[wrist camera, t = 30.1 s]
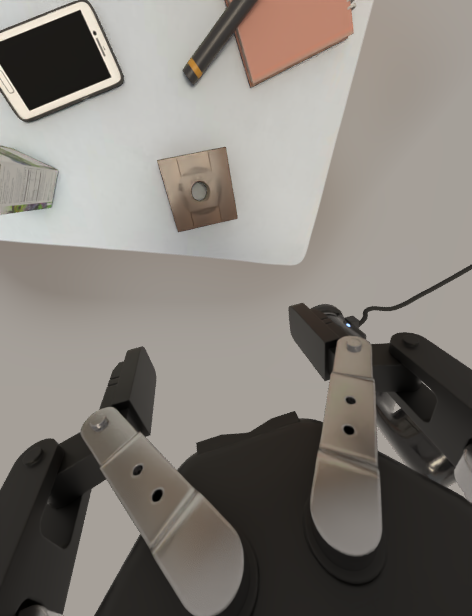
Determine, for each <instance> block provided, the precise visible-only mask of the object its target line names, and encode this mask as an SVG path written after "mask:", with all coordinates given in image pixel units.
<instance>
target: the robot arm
mask: <svg viewBox="0 0 472 616" xmlns="http://www.w3.org/2000/svg"><path fill="white" fill-rule="evenodd" d="M471 269H472V265H470V266H468V267H466V268H465V269H463V270H461V271H459V272H458V273H456V274H454V275H453V276H451V277H449V278H447V279H445V280H443V281H442V282H440V283H438V284H436V285H435V286H433V287H431V288H429V289H427V290H425V291H423V292H421V293H419V294H418V295H416V296H414V297H412V298H410V299H409V300H407V301H405V302H403V303H401V304H399V305H396V306H393V307H377V306H374V307H373V306H372V307H368V308H366V309H365V310H364V311H363V317H362V319H361V320H360V321H359V320H358V319H356V318H355V317H354V316H350V317H346V318H344V317H343V316H342V315H341V314H339V313H336V314H335V313H333V312H330V311H323V312H321V311H318V310H316V309H311V310H310V309H309V308H308V307H307V306H306V305H305V304H303V303H300V304H296V305H293V306H289V321H290V331H291V335H292V337H293V339H294V341H295V342H296V343H297V344H298V346H299V347H300V349H301V350H302V351H303V353H304V354H305V355H306V357H307V358H308V359H309V361H310V362H311V363H312V364H313V366H314V367H315V369H316V370H317V371H318V373H319V374H320V375H321V376H322V378H323V379H324V381H327V380H330V382H329V388H328V395H327V401H326V408H325V414H324V420H323V422H321V421H317V420H313V419H303V418H302V419H299V418H298V416H297V414H296V412H295V411H294V412H290V413H287V414H284V415H281V416H278V417H275V418H272V419H270V420H268V421H267V422H265V423H264V424H262V425H260V426H259V427H257V428H256V429H254V430H253V431H251V432H249V433H240V434H227V435H220V436H217V437H213V438H210V439H207V440H204V441H201V442H198V443H196V444H197V452H196V453H195V454H193V455H192V456H191V457H189V458H188V459H187V460H186V461H185V462H184V463H183V464H182V465H181V466H180V468H178V470H176V469H175V468H174V467H173V466H172V465H171V464H170V463H169V461H168V460H167V459H166V458H165V457H164V456H163V455H162V454H161V453H160V452H159V451H158V450H157V449H156V448H155V447H154V446H153V444H152V443H151V442H150V441H149V440H148V439H147V438H146V436H149V435H150V433H151V423H152V414H153V405H154V395H155V387H156V373H155V369H154V367H153V365H152V363H151V360H150V358H149V356H148V354H147V352H146V350H145V348H144V347H139V348H135V349H131V350H128V351H127V353H126V356H125V360H124V362H120V363H119V364H118V365H117V366H116V367H115V369H114V370H113V372H112V374H111V378H110V380H109V383H108V387H107V389H106V392H105V395H104V398H103V400H102V403H101V406H100V409H99V410H98V411H96V412H95V413H93V414H92V415H91V416H90V417H89V418H88V419H87V420H86V421H85V422H84V424H83V426H82V428H81V432H80V433H78V434H76V435H74V436H73V437H71V438H69V439H67V440H65V441H64V442H62V443H60V444H58V443H57V442H56V441H55V440H54V439H44V440H41V441H39V442H37V443H35V444H34V445H32V446H31V447H29V448H28V449H27V450H26V451H25V452H24V453H22V455H21V456H20V457H19V458H18V459H17V461H16V462H15V464H14V465H13V467H12V469H11V471H10V473H9V475H8V477H7V478H6V481H5V482H4V484H3V486H2V488H1V490H0V616H64V615H63V611H64V607H65V602H66V598H67V593H68V589H69V585H70V580H71V576H72V572H73V567H74V563H75V559H76V554H77V550H78V545H79V541H80V537H81V533H82V528H83V524H84V520H85V515H86V511H87V506H88V502H89V498H90V493H91V489H92V488H93V487H95V486H96V485H98V484H99V483H101V482H102V481H104V480H106V479H107V481H108V483H109V484H110V486H111V488H112V489H113V491H114V492H115V494H116V496H117V497H118V499H119V500H120V502H121V504H122V505H123V507H124V508H125V510H126V511H127V513H128V515H129V516H130V518H131V519H132V521H133V523H134V524H135V526H136V527H137V529H138V530H139V532H140V535H139V537H138V539H137V541H136V543H135V544H134V546H133V548H132V550H131V552H130V553H129V555H128V557H127V558H126V560H125V562H124V564H123V566H122V567H121V569H120V571H119V573H118V574H117V576H116V578H115V580H114V582H113V583H112V585H111V587H110V589H109V590H108V592H107V594H106V596H105V597H104V599H103V601H102V603H101V605H100V607H99V608H98V610H97V612H96V614H95V615H94V616H472V370H471V369H470V368H468V367H467V366H465V365H464V364H462V363H461V362H459V361H458V360H457V359H455V358H453V357H452V356H451V355H449V354H448V353H446V352H445V351H443V350H442V349H440V348H439V347H437V346H436V345H435V344H433V343H432V342H430V341H429V340H427V339H426V338H424V337H422V336H420V335H417V334H414V333H406V332H403V333H397V334H395V335H393V336H392V338H391V340H390V343H387V344H370V342H368V341H367V340H366V334H365V333H363V332H362V331H361V330H359V327H360V326H361V325H362V324H363V323H364V322H365V321H366V320H367V316H368V314H367V313H368V312H369V311H372V310H379V311H392V310H396V309H399V308H402V307H404V306H406V305H408V304H410V303H412V302H413V301H415V300H417V299H419V298H421V297H422V296H424V295H426V294H428V293H430V292H432V291H434V290H436V289H437V288H439V287H441V286H443V285H445V284H446V283H448V282H450V281H452V280H454V279H455V278H457V277H459V276H461V275H463V274H464V273H466V272H468V271H469V270H471ZM421 381H422V382H424V383H425V384H426V385H427V386H428V387H429V388H430V389H431V390H432V391H431V390H430V389H429V388H428V387H426V385H424V384H423V383H422V382H421ZM396 403H397V404H398V405H399V406H400V407H401V409H399V410H398V411H396V412H395V413H393V410H394V406H395V404H396ZM377 427H378V429H379V430H380V431H381V433H382V434H383V435H384V437H385V438H386V439H387V441H388V442H389V444H390V445H391V446H392V448H393V449H394V450H395V452H396V453H397V454H398V456H399V457H400V458H401V459H402V461H403V462H404V463H405V465H406V466H405V465H404V464H402V463H400V462H398V461H396V460H394V459H392V458H390V457H389V456H387V455H385V454H383V453H381V452H379V451H378V449H377ZM456 482H457V483H458V485H459V487H460V488H461V489H462V491H463V492H464V494H465V497H466V499H465V498H464V497H463V496H461V495H459V494H458V493H456V492H454V491H452V490H450V489H448V488H447V487H449V486H451V485H453V484H454V483H456Z"/></svg>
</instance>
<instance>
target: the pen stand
mask: <svg viewBox="0 0 472 616" xmlns="http://www.w3.org/2000/svg"><path fill="white" fill-rule="evenodd" d="M157 162H158V165H159V169H160V172H161V175H162V179H163V182H164V186H165V189H166V193H167V196H168V199H169V203H170V206H171V210H172V213H173V216H174V220H175V223H176V227H177V230H178V232H181V231H185V230H190V229H194V228H198V227H203V226H207V225H211V224H216V223H220V222H225V221H229V220H233V219H237V218H238V217H237V211H236V205H235V200H234V194H233V188H232V182H231V176H230V170H229V164H228V158H227V152H226V147H223V148H218V149H212V150H208V151H202V152H197V153H192V154H187V155H182V156H177V157H172V158H167V159H161V160H157ZM196 182H202V183H203V184H204V185H205V186H206V188H207V195H206V197H205V198H204V199H203V200H195V199H194V198H193V196H192V193H191V189H192V186H193V184H194V183H196Z"/></svg>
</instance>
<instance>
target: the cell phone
mask: <svg viewBox="0 0 472 616" xmlns="http://www.w3.org/2000/svg"><path fill="white" fill-rule="evenodd" d="M66 6H67V7H66ZM64 7H65V8H64ZM61 8H62V9H61ZM59 9H60V10H59ZM56 10H57V11H56ZM53 11H55V12H53ZM51 12H52V13H51ZM48 13H50V14H48ZM123 81H124V78H123V74H122V71H121V69H120V66H119V64H118V62H117V60H116V57H115V55H114V53H113V51H112V48H111V46H110V44H109V41H108V39H107V37H106V35H105V32H104V30H103V28H102V26H101V23H100V21H99V19H98V17H97V15H96V12H95V10H94V9H93V7H92V5H91V4H90V3H89V1H87V0H78V1H74V2H71V3H69V4H66V5H64V6H61V7H59V8H56V9H54V10H51V11H49V12H46V13H44V14H41V15H39V16H36V17H33V18H31V19H28V20H26V21H23V22H21V23H18V24H16V25H13V26H11V27H8V28H6V29H3V30H1V31H0V92H1V93H2V95H3V96H4V98H5V99H6V101H7V102H8V104H9V105H10V107H11V108H12V110H13V111H14V113H15V114H16V115H17V117H18V118H19V119H21V120H22V121H24V122H30V121H34V120H36V119H39V118H41V117H44V116H46V115H49V114H51V113H54V112H56V111H59V110H61V109H63V108H66V107H68V106H71V105H73V104H76V103H78V102H81V101H83V100H82V99H85V98H87V97H90V98H91V97H93V96H95V95H98V94H100V93H103V92H105V91H108V90H110V89H113V88H115V87H117V86H119V85H121V84H122V83H123Z"/></svg>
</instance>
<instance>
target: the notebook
mask: <svg viewBox="0 0 472 616" xmlns="http://www.w3.org/2000/svg"><path fill="white" fill-rule="evenodd" d="M353 1H354V0H351V1H350V0H258V1H257V2H256V3H255V5H254V6H253V7H252V9H251V10H250V11H249V13H248V14H247V15H246V17H245V18H244V19H243V21H242V22H241V23H240V25H239V26H238V27H237V29H236V30H235V31H234V32H235V36H236V39H237V43H238V46H239V49H240V53H241V56H242V60H243V63H244V67H245V70H246V73H247V77H248V80H249V84H250V87H253V86H255V85H257V84H259V83H261V82H263V81H264V80H266V79H268V78H270V77H272V76H274V75H276V74H278V73H280V72H282V71H284V70H286V69H288V68H290V67H292V66H294V65H296V64H298V63H300V62H302V61H304V60H306V59H308V58H310V57H312V56H314V55H316V54H318V53H320V52H322V51H324V50H325V49H327V48H329V47H331V46H333V45H335V44H337V43H339V42H341V41H343V40H345V39H347V38H348V36H349V35H351V34H353V33H354V32H353V23H352V13H351V11H352V10H353V9H354V8H355V7H356V3H354V4H352V5H351V3H352V2H353ZM225 2H226V5H227V7H228V6H229V4H230V3H231V2H232V0H225Z"/></svg>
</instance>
